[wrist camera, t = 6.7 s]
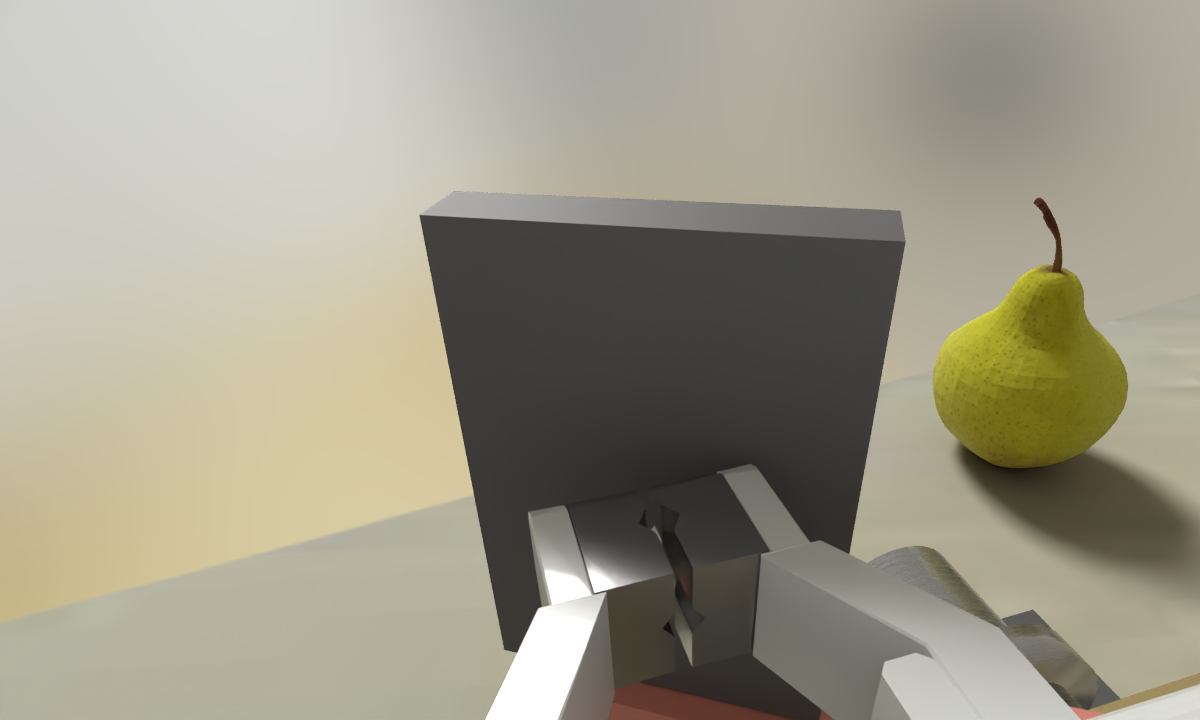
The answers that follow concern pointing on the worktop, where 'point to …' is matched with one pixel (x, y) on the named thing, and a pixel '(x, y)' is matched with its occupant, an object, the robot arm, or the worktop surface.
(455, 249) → the lever
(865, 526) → the worktop surface
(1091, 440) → the fruit
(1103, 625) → the worktop surface
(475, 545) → the worktop surface
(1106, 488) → the worktop surface
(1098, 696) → the valve
